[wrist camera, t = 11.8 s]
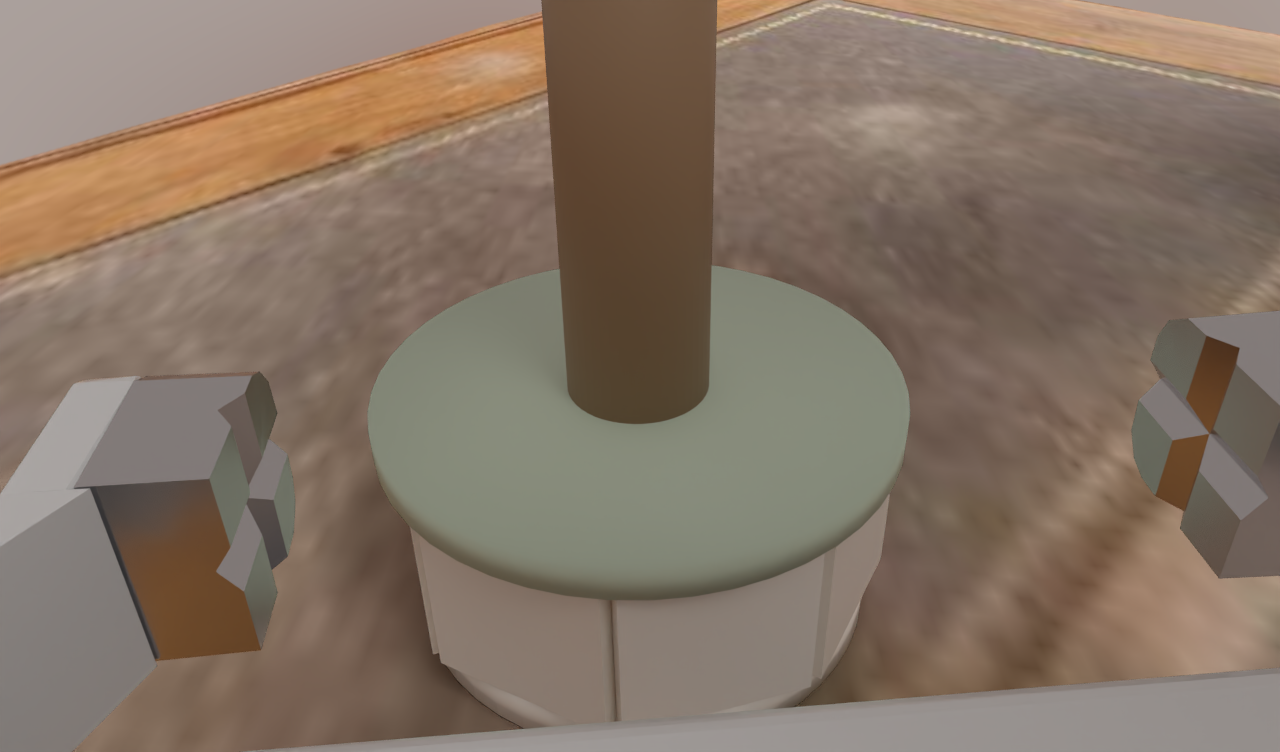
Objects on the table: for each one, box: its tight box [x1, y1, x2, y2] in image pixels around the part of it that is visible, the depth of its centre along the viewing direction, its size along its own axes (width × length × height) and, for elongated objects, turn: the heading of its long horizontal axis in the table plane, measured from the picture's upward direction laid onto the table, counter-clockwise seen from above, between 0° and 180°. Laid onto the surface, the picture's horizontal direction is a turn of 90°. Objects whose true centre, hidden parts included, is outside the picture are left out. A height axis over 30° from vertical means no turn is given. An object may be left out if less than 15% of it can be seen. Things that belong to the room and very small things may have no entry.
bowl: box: [409, 493, 890, 729], centre depth 26 cm, size 11×11×5 cm
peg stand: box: [368, 0, 910, 600], centre depth 21 cm, size 12×12×13 cm
